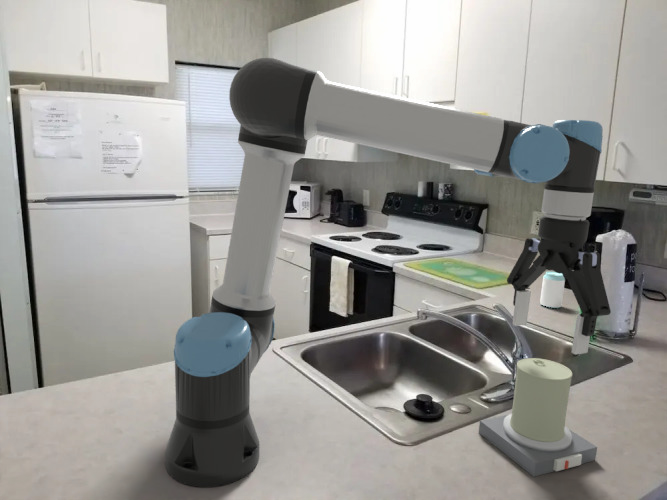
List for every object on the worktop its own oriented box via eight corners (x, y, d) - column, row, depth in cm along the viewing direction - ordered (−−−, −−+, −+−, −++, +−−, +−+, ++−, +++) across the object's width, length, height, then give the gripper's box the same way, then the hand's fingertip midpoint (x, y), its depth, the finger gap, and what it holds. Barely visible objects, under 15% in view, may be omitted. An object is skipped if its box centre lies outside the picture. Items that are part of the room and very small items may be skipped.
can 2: (550, 415, 97) (558, 355, 95) (574, 442, 88) (583, 377, 86) (502, 414, 97) (509, 354, 94) (521, 442, 88) (529, 376, 85)
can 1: (563, 310, 177) (568, 276, 175) (542, 308, 178) (546, 274, 176) (558, 304, 184) (562, 271, 182) (537, 302, 185) (541, 270, 183)
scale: (538, 480, 83) (540, 461, 82) (478, 432, 97) (480, 415, 96) (600, 463, 88) (603, 445, 88) (535, 420, 102) (537, 404, 101)
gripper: (651, 228, 75) (627, 364, 79) (527, 207, 98) (513, 313, 102) (615, 229, 72) (592, 369, 76) (496, 207, 95) (483, 316, 99)
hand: (547, 338), depth 89 cm, fingers open, 13 cm apart
